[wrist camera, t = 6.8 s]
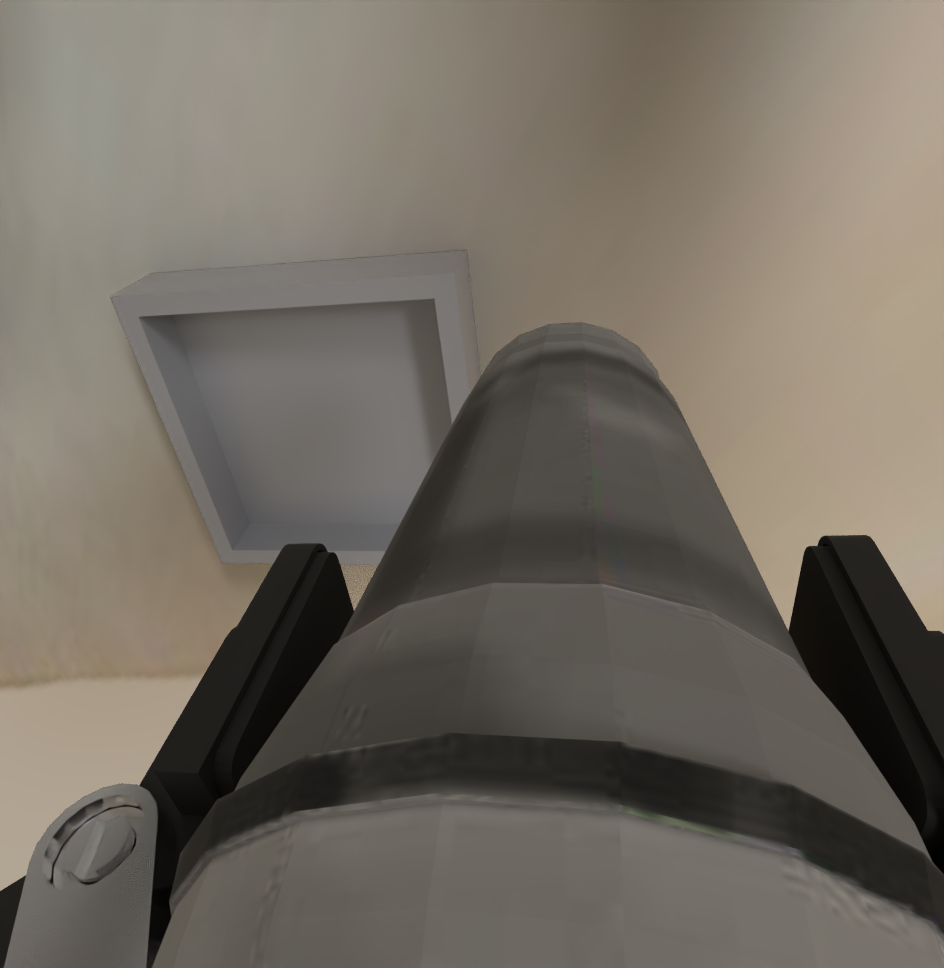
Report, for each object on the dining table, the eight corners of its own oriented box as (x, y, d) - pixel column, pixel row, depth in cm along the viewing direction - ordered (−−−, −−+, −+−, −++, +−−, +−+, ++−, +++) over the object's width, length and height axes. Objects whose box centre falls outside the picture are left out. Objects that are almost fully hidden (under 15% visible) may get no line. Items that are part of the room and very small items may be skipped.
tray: (150, 273, 33) (110, 296, 30) (466, 250, 30) (454, 273, 27) (246, 526, 42) (221, 563, 39) (496, 526, 39) (490, 565, 36)
